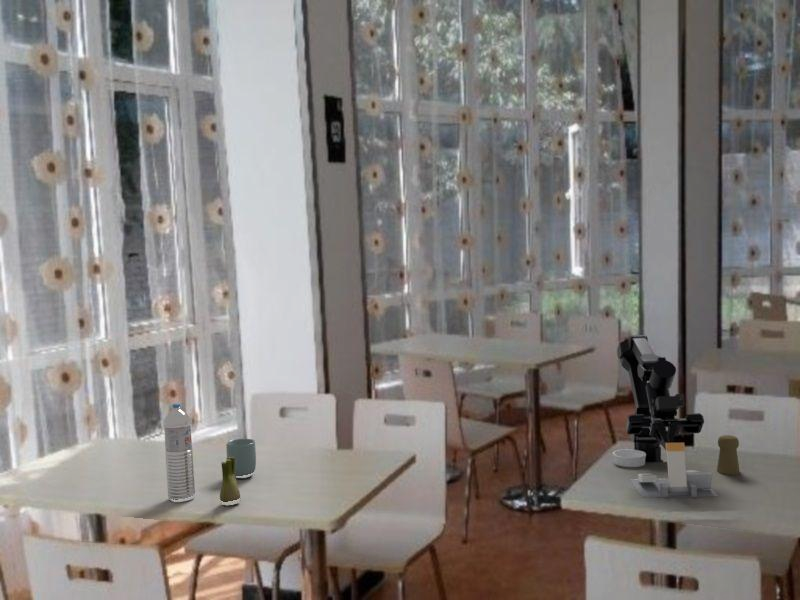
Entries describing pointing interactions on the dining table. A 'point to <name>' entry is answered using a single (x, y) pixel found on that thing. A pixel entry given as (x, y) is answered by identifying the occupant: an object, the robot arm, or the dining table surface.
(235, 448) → the cup
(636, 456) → the ramekin
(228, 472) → the fennel bulb
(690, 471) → the button
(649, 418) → the robot arm
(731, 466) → the cork
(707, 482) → the grey rectangular panel
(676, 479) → the lever
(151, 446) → the dining table surface
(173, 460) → the water bottle
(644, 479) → the rocker
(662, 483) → the grey tray
